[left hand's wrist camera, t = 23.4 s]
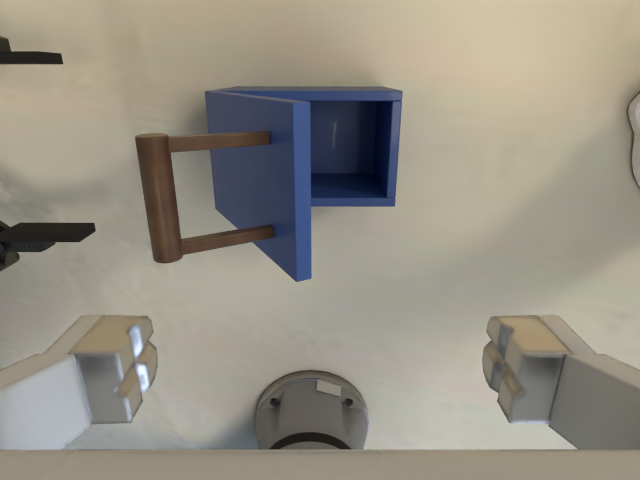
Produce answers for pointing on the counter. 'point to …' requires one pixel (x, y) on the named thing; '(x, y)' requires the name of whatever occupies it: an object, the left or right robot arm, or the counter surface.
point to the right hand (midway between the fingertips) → (71, 151)
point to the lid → (239, 180)
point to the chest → (348, 141)
